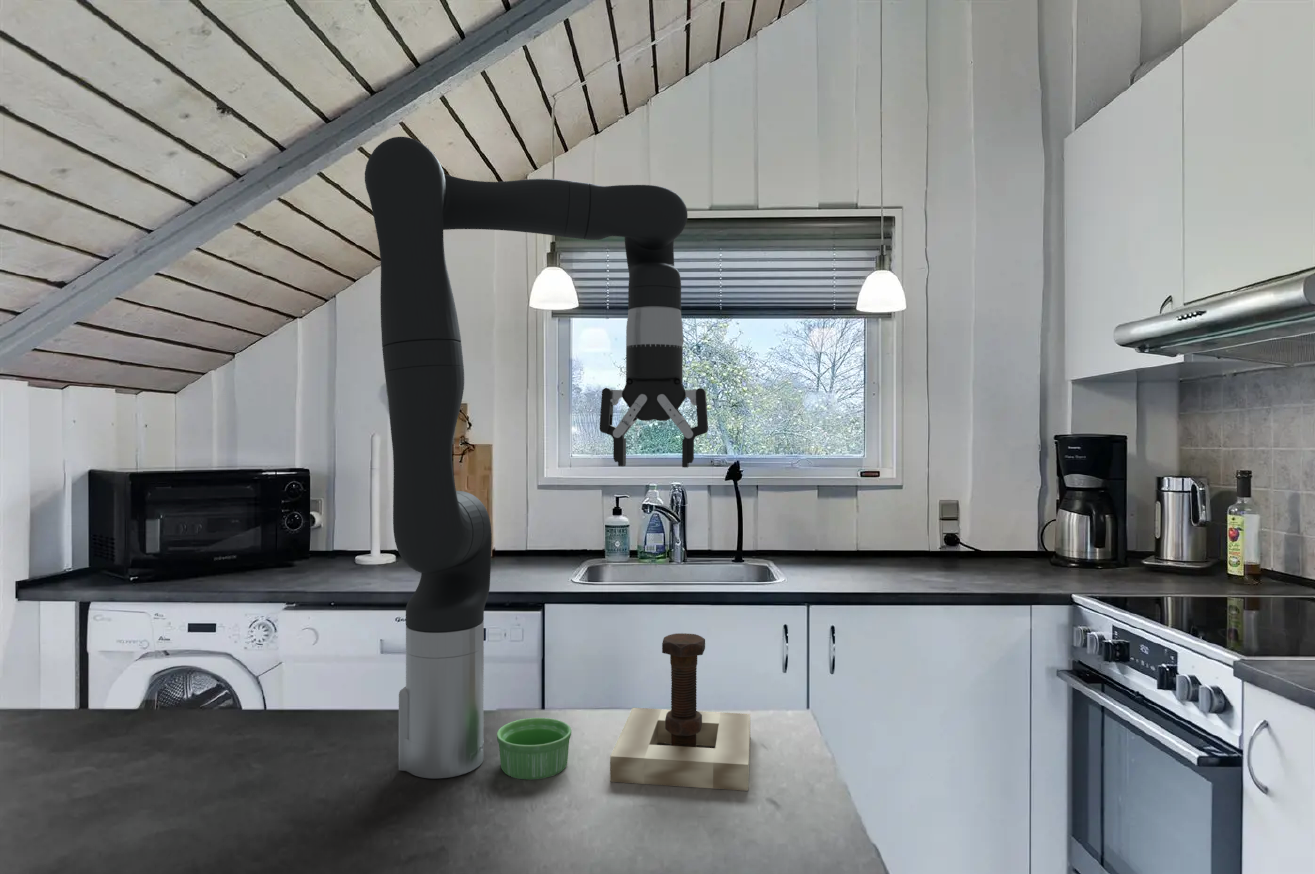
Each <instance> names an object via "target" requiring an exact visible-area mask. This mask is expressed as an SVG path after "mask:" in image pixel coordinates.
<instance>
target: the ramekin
mask: <svg viewBox="0 0 1315 874" xmlns="http://www.w3.org/2000/svg"><path fill="white" fill-rule="evenodd" d="M571 737H572V727H571V726H570V725H569V724H568V723H566V722H564V721H563V720H559V719H556V718H550V717H529V718H521V719H517V720H515V721H514V720H513V721H511V722H508V723H506V724H504V725H503V726H501V727H500V728H499V729H498V730H497V732H496V739H497V743H498V748H499V749H498V750H499V761H500V769H502V771H503V773H504V774H505V775H507V777H510V776H511V778H513V779H517V780H527V781H530V780H541V779H546V778H550V777H553V776H556V775H558V774H559V773H561V772H562V771H563V770H564V769H565V768H566V767H567V765H568V761H569V760H568V759H569V750H570V749H569V745H570V739H571Z"/></svg>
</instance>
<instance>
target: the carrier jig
mask: <svg viewBox="0 0 1315 874" xmlns="http://www.w3.org/2000/svg"><path fill="white" fill-rule="evenodd" d="M669 711H671V709H665V708H664V709H662V708H646V707H645V708H644V707H643V708H641V707H632V708H631V709H630V712H629V715H628V717H627V719H626V721H625V723H624V725H623V728H622V729H621V732H620V734H619V736H618V738H617V739H616V743H615V745H614V747H613V749H612V751H611V754H610V757H609V759H610V760H609V782H611V783H622V784H623V783H625V784H636V785H638V784H639V785H641V784H642V785H653V786H668V787H670V786H671V787H684V788H685V787H686V788H699V789H714V790H715V789H717V790H728V791H745V792H746V791H747V792H748V791H749V781H750V780H749V779H750V778H749V777H750V754H751V753H750V752H751V713H741V712H740V713H737V712H723V711H722V712H719V711H718V712H717V711H703V710H702V711H700V710H697V711H698V712H699V713H700V714H701V715H702V727H701V731H700V732H699V733H697V734H696V747H683V746H671V741H672V740H671V733H669V732H668V731H667V730H666V729H665V719H666V715H667V713H668V712H669ZM662 744H666V745H662ZM667 744H670V745H667ZM697 746H703V747H697ZM705 746H706V747H705ZM710 747H711V748H710ZM712 747H714V748H712Z"/></svg>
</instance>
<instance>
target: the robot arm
mask: <svg viewBox="0 0 1315 874" xmlns="http://www.w3.org/2000/svg"><path fill="white" fill-rule="evenodd" d="M442 167H443V166H442V165H441V162H439V159H438V158H437V157H436V155H435V154H434V153H433V151H431V150H430V149H429V148H428V147H427V146H426V145H425V144H423V143H422V142H421V141H419V140H417V139H414V138H411V137H408V136H394V137H391V138H388V139H386V140H383V141H382V142H380V143H379V144H378V145H377V146H376V147H375V148H374V149H373V151H372V152H371V154H370V155H369V157H368V160H367V163H366V164H365V169H364V183H365V190H366V193H367V195H368V197H369V198H368V199H369V202H370V207H371V211H372V216H373V220H374V225H375V231H376V237H377V242H378V248H379V255H380V258H379V259H380V294H379V295H380V297H379V298H380V303H379V304H380V327H381V328H380V329H381V330H380V331H381V348H382V358H383V360H382V361H383V370H384V376H385V377H384V378H385V383H386V385H385V386H386V393H387V399H388V401H387V402H388V411H389V413H388V414H389V424H390V435H391V437H390V438H391V445H392V460H393V479H392V480H393V483H392V484H393V488H392V489H393V491H392V493H393V497H392V498H393V499H392V500H393V502H392V504H393V505H392V523H393V524H392V525H393V526H392V527H393V528H392V529H393V537H394V538H393V539H394V542H395V547H396V550H397V552H398V554H399V555H400V558H401V559H402V560H403V562H404V563H405V564H406V565H407V566H408V567H409V568H411V569H412V570H414V571H415V572H418V573H421V575H420V579H419V581H418V582H419V583H418V585H417V586H416V589H415V591H414V593H413V594H412V596H411V597H410V599H409V600H408V602H407V604H406V606H405V686H404V687H403V688H401V689H400V690H399V692H398V771H403V772H407V773H409V774H410V775H413V776H416V777H419V778H425V779H447V778H454V777H457V776H461V775H466V774H467V773H469V772H473V771H474V770H475V769H478V768H479V767H480V765H482V763H483V761H484V746H485V744H484V743H485V742H484V741H485V740H484V692H485V691H484V690H485V689H484V687H485V686H484V680H485V679H484V677H485V675H484V670H485V669H484V665H485V663H484V660H485V659H484V658H485V657H484V656H485V654H484V653H485V652H484V649H485V647H484V646H485V645H484V641H485V638H484V635H485V634H484V633H485V631H484V626H485V625H484V624H485V622H484V617H485V615H484V614H485V606H486V603H487V600H488V598H489V593H490V588H491V587H490V586H491V569H492V567H491V565H492V543H493V542H492V526H491V525H492V523H491V520H490V515H489V513H488V510H487V507H486V506H485V504H484V503H483V502H482V501H481V500H480V499H479V498H478V497H477V496H476V495H474V494H472V493H470V492H468V491H463V490H457V489H456V483H455V476H454V475H455V474H454V466H453V443H454V436H455V431H456V426H457V423H458V418H459V414H460V411H461V406H462V401H463V397H464V391H465V368H464V367H465V366H464V358H463V347H462V337H461V332H460V325H459V319H458V314H457V309H456V308H457V307H456V303H455V297H454V293H453V289H452V284H451V280H450V277H449V276H450V275H449V273H448V267H447V260H446V254H445V242H444V230H445V231H449V230H451V231H452V230H492V231H506V232H507V231H508V232H522V233H530V234H538V235H539V234H540V235H547V236H555V237H563V238H572V239H578V240H583V239H584V240H588V241H589V240H590V241H595V240H596V241H599V240H604V239H605V238H609V237H623V238H624V248H625V256H626V264H627V269H628V278H629V279H628V293H627V297H628V298H627V299H628V300H627V306H628V308H627V313H628V314H627V320H626V328H625V329H626V330H625V331H626V335H625V345H626V346H625V348H626V349H625V385H624V388H623V389H612V388H608V387H604V388H603V389H602V391H601V401H600V413H599V415H600V418H599V431H600V432H601V433H603V434H606V435H608V436H610V437H612V439H613V443H612V444H613V460H614V462H615V463H617V466H618V467H626V465H627V438H625V435H626V434H627V432H629V430H630V428H632V426H633V425H634V424H635V423H636V422H637V420H639V421H641V422H649V421H650V422H651V421H653V420H655V421H659V422H666V421H669V420H672V422H673V424H674V425H675V426H676V427H677V429H679V430H680V433H682V435H683V438H682V441H681V446H682V447H681V452H682V453H681V457H682V458H681V467H682V468H689V467H690V464H692V463H693V462H694V459H695V439H696V438H697V437H699V436H701V435H704V434H708V431H709V424H708V423H709V422H708V421H709V420H708V419H709V418H708V405H707V404H708V403H707V402H708V401H707V391H706V390H705V389H704V388H702V387H699V388H696V389H685V387H684V385H683V382H684V381H683V375H684V374H683V369H684V368H683V365H684V364H683V362H684V361H683V359H684V358H683V353H684V352H683V351H684V350H683V348H684V332H683V331H684V327H683V320H682V319H683V318H682V278H681V275H680V274H681V273H680V272H679V270H678V268H676V267H675V255H674V254H675V253H674V252H675V251H674V241H675V239H677V238H678V237H679V236H680V235H681V234H682V232H683V231H684V229H685V227H686V224H687V222H688V215H689V214H688V208H687V205H686V202H685V201H684V200H683V199H682V198H681V196H680V195H679V194H678V193H677V192H675V191H673V190H671V189H669V188H666V187H664V186H660V185H659V186H658V185H655V184H653V185H651V184H616V185H599V184H594V183H588V182H582V181H574V180H566V179H559V178H558V179H556V178H531V179H530V178H528V179H519V180H509V181H508V180H507V181H506V180H505V181H483V180H473V179H472V180H471V179H465V178H460V177H457V176H452V175H448V174H445V171H444V169H443V168H442ZM621 398H622V399H623V401H624V402H625V404H626V405H627V407H628V408H629V409H628V410H627V412H625V414H624V415H623V417H622V418H621V420H620V422H619V423H618V424H617V426H614V425H613V417H614V406H617V405H618V403H619V401H620V399H621ZM686 398H688V399H689V400H690V403H691V405H692V406H695V407H696V422H697V423H696V424H697V425H696V426H694V427H692V426H691V425H690V424H689V423H688V422H687V420H686V418H685V417H684V415H683V414H682V413H681V411H680V410H679V408H680V407H681V405H682V404H683V403H684V402H685V400H686Z"/></svg>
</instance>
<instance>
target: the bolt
mask: <svg viewBox="0 0 1315 874" xmlns="http://www.w3.org/2000/svg"><path fill="white" fill-rule="evenodd" d="M705 650H706V639H705V638H704V637H703V636H701V635H699V634H696V633H683V632H681V633H672V634H668V635H666V636H664V637H663V639H662V643H661V653H662V654H666V655H669V656H670V658H669V659H670V662H669V663H670V677H671V680H670V681H671V683H670V684H671V688H670V689H671V690H670V697H671V698H670V700H671V701H670V703H671V704H670V710H671V711H669V712H668V713H667V715H666V719H665V729H666V730H667V731H668V732H669V733H671V740H672V741H671V744H670V746H683V747H697V745H696V734H697V733H699V732H700V731H701V727H702V715H701V714H700V713H699V712H698V711H699V710H697V696H698V695H697V683H698V681H697V679H698V677H697V665H698V656H702V655H704V652H705Z"/></svg>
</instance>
